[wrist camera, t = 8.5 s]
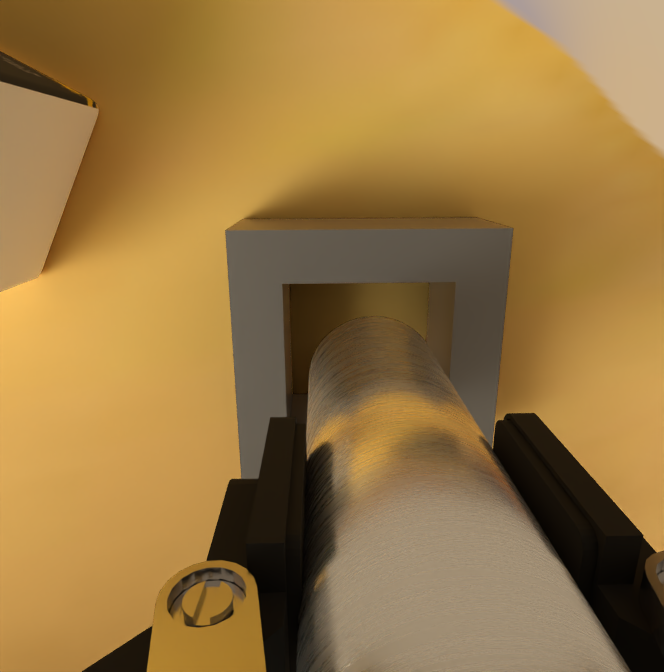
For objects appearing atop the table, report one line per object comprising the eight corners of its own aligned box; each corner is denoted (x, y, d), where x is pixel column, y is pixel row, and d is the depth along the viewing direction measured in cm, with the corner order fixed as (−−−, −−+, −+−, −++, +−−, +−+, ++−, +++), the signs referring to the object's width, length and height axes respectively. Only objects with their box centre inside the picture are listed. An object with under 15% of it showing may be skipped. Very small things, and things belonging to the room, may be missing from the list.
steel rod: (431, 433, 17) (657, 953, 6) (309, 435, 17) (293, 967, 6) (439, 315, 16) (739, 679, 5) (307, 316, 16) (281, 692, 4)
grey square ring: (460, 427, 23) (488, 478, 19) (254, 430, 23) (241, 482, 19) (476, 217, 20) (513, 228, 16) (242, 219, 20) (225, 230, 16)
